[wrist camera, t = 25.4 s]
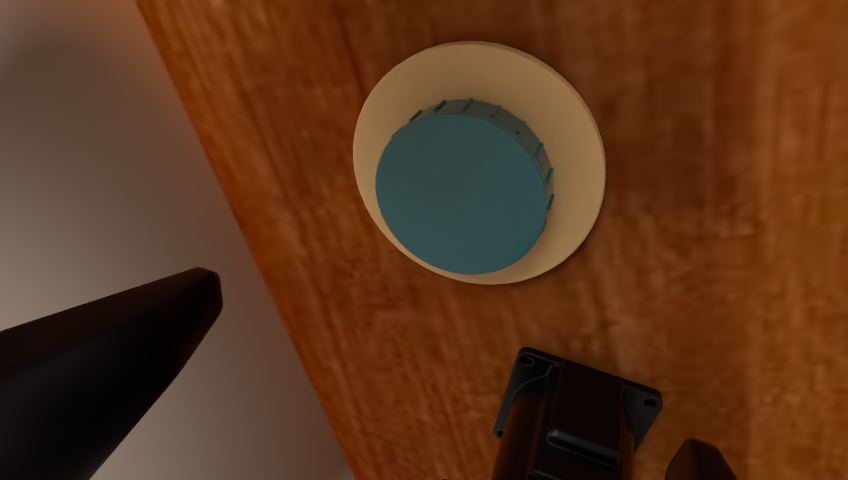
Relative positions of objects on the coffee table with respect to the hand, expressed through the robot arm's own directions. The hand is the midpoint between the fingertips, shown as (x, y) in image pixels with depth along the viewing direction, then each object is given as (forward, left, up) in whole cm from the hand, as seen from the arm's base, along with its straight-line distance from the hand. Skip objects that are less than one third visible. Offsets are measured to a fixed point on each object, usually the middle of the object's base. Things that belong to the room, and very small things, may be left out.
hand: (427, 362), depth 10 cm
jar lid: (-2, +2, -10) cm, 11 cm away
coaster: (-2, +2, -12) cm, 12 cm away
